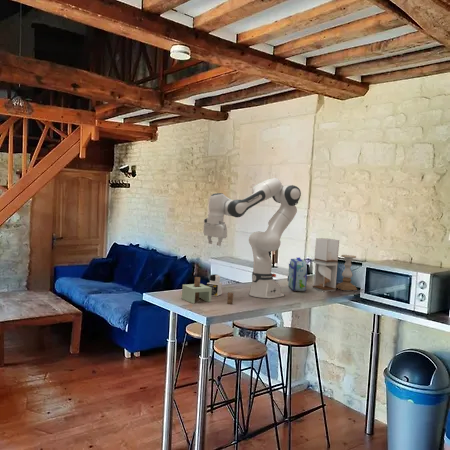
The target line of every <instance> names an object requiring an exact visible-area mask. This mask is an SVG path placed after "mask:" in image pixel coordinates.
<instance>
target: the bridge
mask: <svg viewBox="0 0 450 450" xmlns="http://www.w3.org/2000/svg"><path fill="white" fill-rule="evenodd" d="M181 292H182V293H181V299H182V300H183V301H186V302H188V303H190V304H193V305H194V304H195V302H196V301H195V292H199V299H200V298H201V299H200V300H203V301H204V302H207V303H211V302H212V295H211V294H212V288H211V287H209V286H207V284H206V285H205V284H203V283H200V287H194V283H189V284H182V290H181Z"/></svg>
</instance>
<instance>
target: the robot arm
mask: <svg viewBox="0 0 450 450" xmlns="http://www.w3.org/2000/svg"><path fill="white" fill-rule="evenodd" d="M301 192H302V191H301V189H300V188H299V187H298V186H296V185H293V184H292V185H287V184H286V185H283V184H282V181H281V180H280V179H279V178H277V177H272V178H268V179H265V180H263V181H260V182H258V183H257V184H255V185H254V186H253V188H252V190H251V193H252V194H250V195H249V196H247V197H245V198H243V199H231V198H229V197H227V196H226V195H225V194H224V193H223V192H219V193H218V192H217V193H212V194H211V195H210V198H209V203H208V210H209V212H208V217H205V218H204V219H203V224H204V225H203V235H204V236H207V240H208V242H207V243H208V244H209V245H212V244H213V240H212V237H213V238H217V240H218V241H217V242H216V245H217V246H219V247H221V246H222V242H223V239H226V238H227V237H228V228H227V224H226V222H224V216H225V215H226V216H228V217H234V218H240V217H241V218H242V217H243V216H244V215H245V213H246V212H247V211H248V210H250V209H251V208H253V207H254V206H256V205H258V204H260V203H261V202H265V201H267V200H269V199H273V201H274V202H276V203H278V204H280V206H279V208H278V209H277V211H276V212H275V213H274V214H273V216H272V217H271V218H270V219H269V221H268V226H267V228H266V230H265V231H254V232H252V233H251V234H250V235H249V238H248V243H249V244H250V247H251V250H252V255H253V267H252V268H253V271H252V273H251V287H250V290H249V293H248V295H249V296H251V297H255V298H261V299H274V298H275V299H276V298H281V297H285V294H284V293H282V288H281V285H280V284H278V283H277V281H276V280H274V278H276V277H277V274H276V273H272V265H273V260H272V259H271V257H270V252H275V251H277V250H279V248H280V247H281V239H282V238H281V237H282V235H283V233H284V232H285V231H286V229H287V228H288V226H289V225H290V224H291V222H292V221H293V220H294V219H295V216H296V214H297V212H298V209H297V205H298V204H299V201H300V200H301V196H302V195H301V194H302V193H301Z"/></svg>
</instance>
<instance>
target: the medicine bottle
mask: <svg viewBox="0 0 450 450" xmlns="http://www.w3.org/2000/svg"><path fill="white" fill-rule="evenodd" d="M206 286H209V287H211V288H212V294H211V297H218V296H221V295H222V290H223V289H222V288H223V283H222V282H221V275H219V274H213V273H212V274H210V275H209V282H207V283H206Z"/></svg>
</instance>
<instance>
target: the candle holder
mask: <svg viewBox="0 0 450 450" xmlns="http://www.w3.org/2000/svg"><path fill="white" fill-rule="evenodd" d="M340 256H341V258H344V260H345V263H344V264H343V265H344V267H345V268H344V270H343V272H342V273H341V276H342V282H338V283H336V289H337V288H338V289H337V290H339V289H341V290H340V291H342V290H357V291H358V288H357V287H356V285H354V284H353V283H352V279H351V278H353V272H352V270H351V267H353V266H352V265H353V264H352V260H353V259H356V258H357V256H356V255H352V254H341V255H340Z"/></svg>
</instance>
